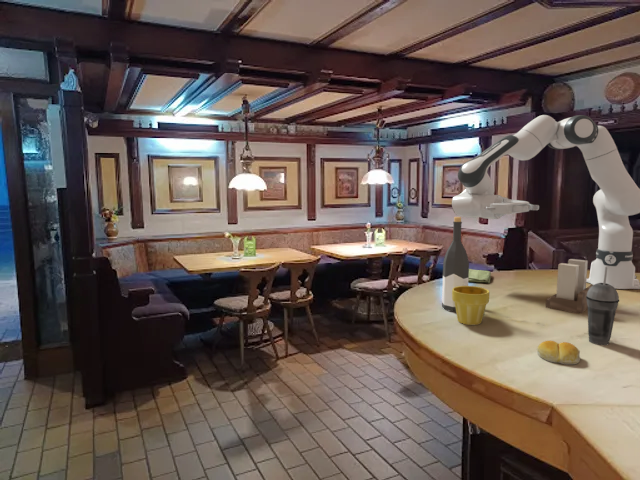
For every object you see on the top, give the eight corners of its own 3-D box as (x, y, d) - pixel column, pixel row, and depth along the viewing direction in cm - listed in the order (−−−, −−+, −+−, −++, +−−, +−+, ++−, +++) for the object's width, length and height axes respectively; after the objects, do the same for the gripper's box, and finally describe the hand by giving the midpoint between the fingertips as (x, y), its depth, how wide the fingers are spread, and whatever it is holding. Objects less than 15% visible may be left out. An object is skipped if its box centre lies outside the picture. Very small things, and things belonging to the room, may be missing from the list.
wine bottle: (468, 306, 149) (472, 216, 145) (465, 313, 142) (469, 218, 138) (443, 303, 153) (446, 215, 149) (439, 310, 145) (442, 217, 141)
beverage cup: (611, 338, 119) (617, 264, 116) (619, 348, 112) (626, 269, 109) (579, 335, 121) (585, 262, 118) (586, 345, 114) (592, 267, 111)
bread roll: (538, 349, 112) (539, 333, 112) (579, 356, 108) (581, 340, 107) (534, 360, 105) (535, 344, 105) (578, 368, 101) (580, 351, 100)
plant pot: (469, 329, 126) (471, 295, 125) (443, 319, 136) (444, 288, 134) (495, 324, 131) (497, 291, 130) (469, 314, 140) (470, 284, 139)
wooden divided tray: (560, 301, 154) (562, 280, 153) (594, 307, 148) (595, 285, 147) (545, 311, 143) (546, 288, 142) (580, 318, 136) (582, 294, 135)
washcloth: (456, 282, 186) (456, 274, 186) (461, 274, 202) (461, 267, 202) (489, 285, 181) (490, 277, 180) (492, 276, 197) (493, 269, 196)
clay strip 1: (558, 305, 144) (561, 263, 142) (575, 308, 141) (579, 265, 139) (555, 307, 142) (558, 264, 140) (573, 310, 139) (576, 266, 137)
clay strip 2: (567, 299, 152) (570, 258, 150) (584, 302, 148) (587, 260, 146) (565, 301, 149) (568, 260, 148) (582, 304, 146) (585, 261, 144)
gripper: (482, 199, 157) (523, 200, 148) (505, 197, 172) (543, 198, 162) (481, 217, 158) (522, 219, 149) (504, 213, 173) (542, 215, 163)
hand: (533, 208), depth 156 cm, fingers open, 8 cm apart
